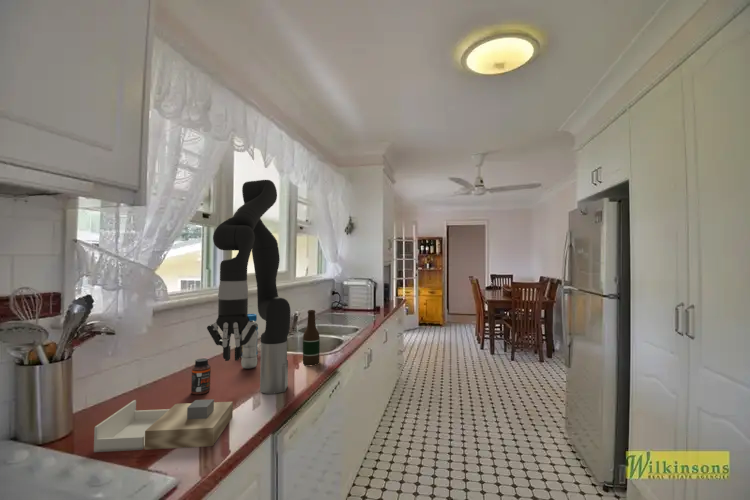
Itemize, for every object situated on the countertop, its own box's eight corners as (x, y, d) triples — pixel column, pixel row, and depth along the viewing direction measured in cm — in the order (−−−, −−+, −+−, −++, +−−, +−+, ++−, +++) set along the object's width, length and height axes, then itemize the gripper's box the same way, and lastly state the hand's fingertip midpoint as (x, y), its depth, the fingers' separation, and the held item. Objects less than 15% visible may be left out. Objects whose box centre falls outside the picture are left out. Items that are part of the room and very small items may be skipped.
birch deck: (232, 416, 101) (232, 401, 101) (212, 446, 85) (213, 427, 85) (175, 419, 100) (175, 403, 100) (144, 449, 84) (145, 430, 84)
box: (173, 419, 99) (174, 398, 100) (142, 449, 84) (143, 424, 84) (133, 421, 98) (133, 400, 98) (93, 452, 82) (94, 426, 83)
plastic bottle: (260, 367, 148) (261, 321, 149) (247, 371, 143) (248, 323, 143) (250, 364, 152) (251, 319, 152) (237, 368, 146) (238, 321, 147)
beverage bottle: (259, 356, 164) (260, 315, 165) (241, 359, 160) (242, 316, 160) (255, 352, 171) (256, 312, 172) (237, 355, 167) (238, 314, 167)
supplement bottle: (202, 396, 117) (203, 362, 117) (187, 394, 118) (187, 361, 118) (213, 389, 123) (214, 357, 123) (199, 388, 124) (199, 356, 124)
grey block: (213, 410, 96) (213, 399, 96) (206, 418, 91) (207, 406, 91) (194, 410, 95) (195, 400, 95) (187, 419, 90) (187, 407, 90)
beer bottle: (305, 360, 158) (306, 308, 159) (321, 361, 157) (322, 309, 158) (299, 365, 151) (300, 311, 151) (316, 366, 150) (317, 311, 150)
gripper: (261, 295, 99) (261, 355, 99) (212, 295, 98) (211, 356, 97) (255, 298, 92) (254, 363, 91) (201, 298, 90) (200, 364, 90)
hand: (232, 359), depth 94 cm, fingers closed
